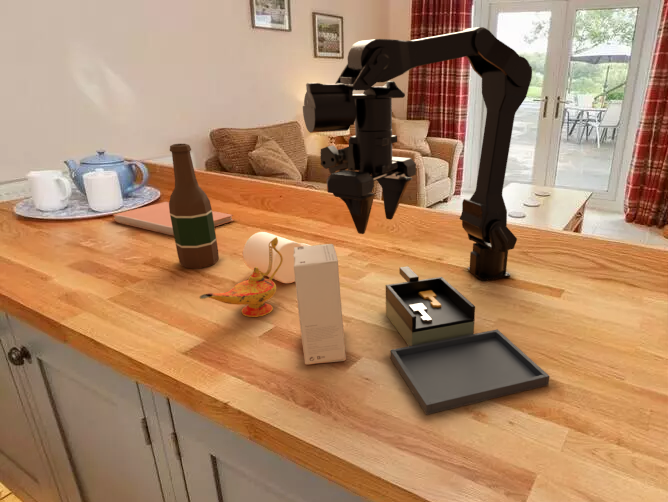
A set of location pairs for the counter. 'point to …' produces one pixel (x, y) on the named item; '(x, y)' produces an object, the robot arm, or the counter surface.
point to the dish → (428, 302)
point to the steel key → (421, 311)
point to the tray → (466, 370)
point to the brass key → (430, 298)
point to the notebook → (159, 218)
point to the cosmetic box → (319, 303)
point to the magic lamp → (252, 290)
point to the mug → (259, 256)
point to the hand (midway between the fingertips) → (375, 226)
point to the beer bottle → (191, 214)
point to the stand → (429, 334)
